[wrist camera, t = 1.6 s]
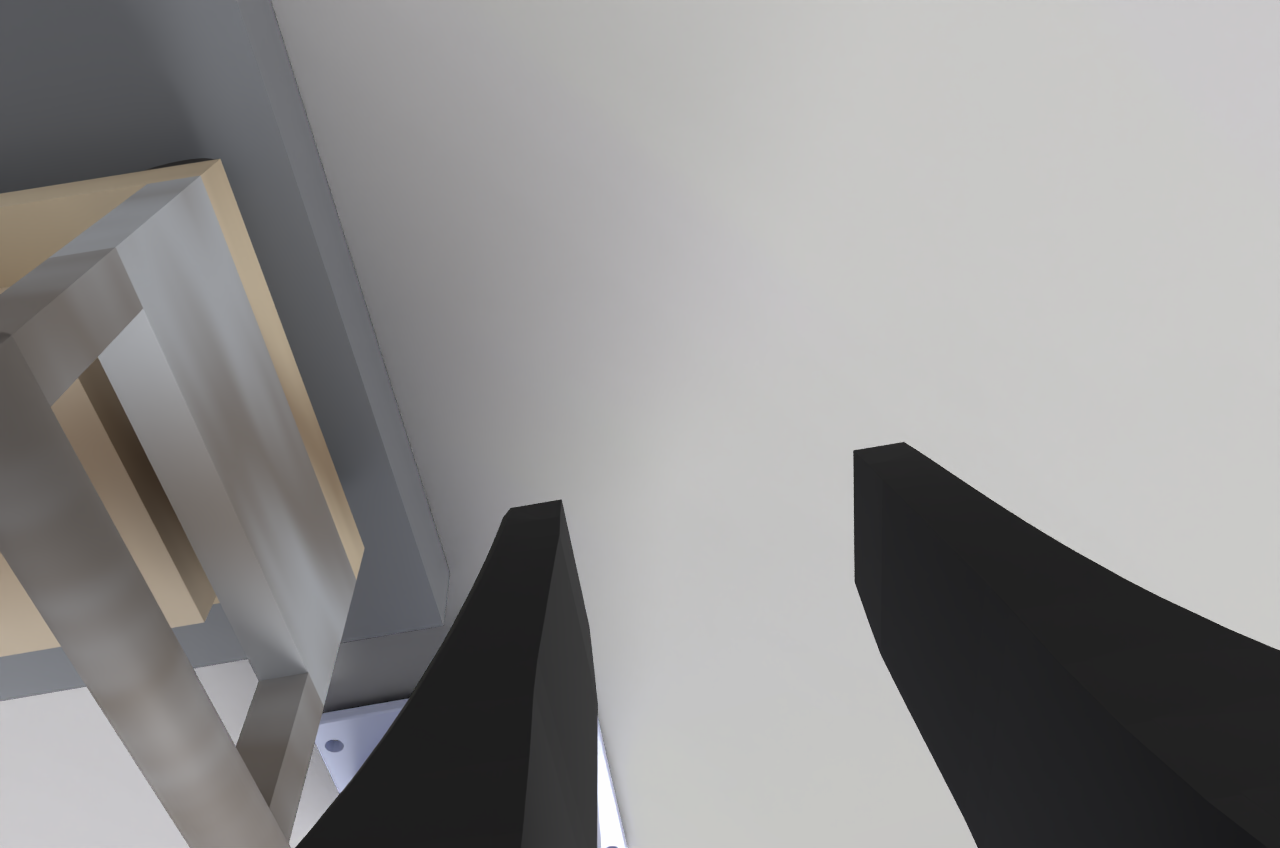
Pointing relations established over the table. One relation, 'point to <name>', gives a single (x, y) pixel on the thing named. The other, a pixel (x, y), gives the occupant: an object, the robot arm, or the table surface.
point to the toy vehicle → (167, 486)
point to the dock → (279, 232)
